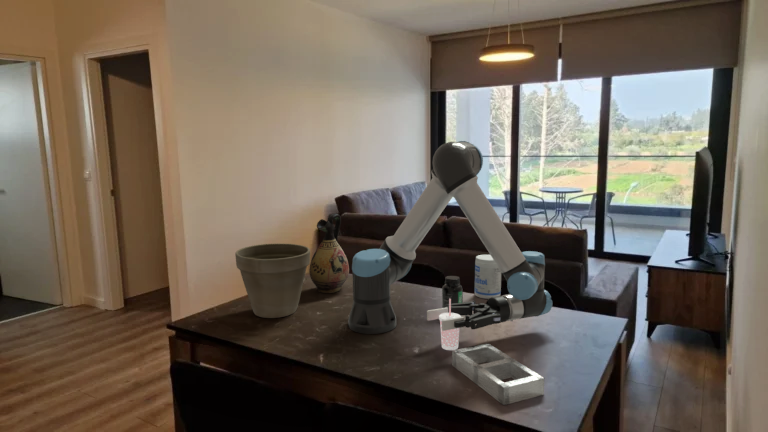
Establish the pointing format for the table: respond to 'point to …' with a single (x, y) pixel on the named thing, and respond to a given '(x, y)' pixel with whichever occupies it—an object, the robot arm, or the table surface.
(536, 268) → the robot arm
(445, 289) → the supplement bottle
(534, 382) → the grey hollow block
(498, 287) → the supplement tub
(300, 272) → the plant pot
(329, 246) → the ceramic jug
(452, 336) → the beverage cup
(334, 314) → the table surface
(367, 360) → the table surface
